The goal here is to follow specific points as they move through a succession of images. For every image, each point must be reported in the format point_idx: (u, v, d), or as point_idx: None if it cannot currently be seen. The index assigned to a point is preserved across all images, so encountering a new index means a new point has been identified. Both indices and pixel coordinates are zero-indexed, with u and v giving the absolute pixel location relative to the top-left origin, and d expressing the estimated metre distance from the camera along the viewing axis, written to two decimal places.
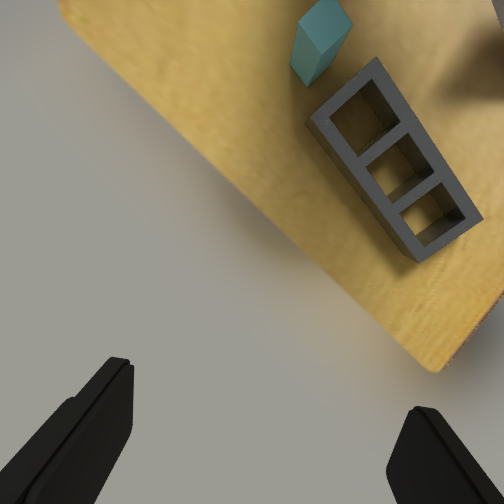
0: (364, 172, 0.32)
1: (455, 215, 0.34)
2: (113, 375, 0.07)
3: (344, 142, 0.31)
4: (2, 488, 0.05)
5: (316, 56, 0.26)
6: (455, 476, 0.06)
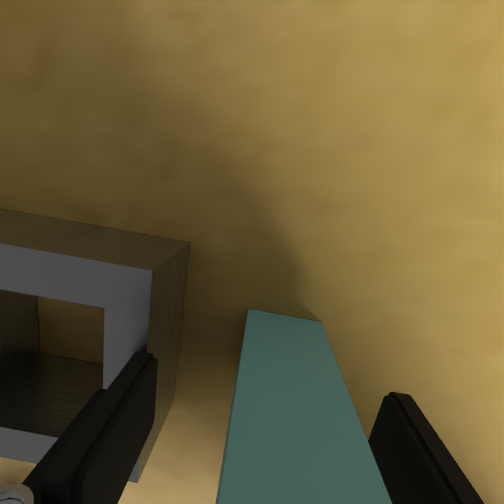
0: None
1: None
2: (141, 368, 0.08)
3: (0, 282, 0.08)
4: (54, 467, 0.05)
5: (245, 499, 0.05)
6: (420, 454, 0.07)
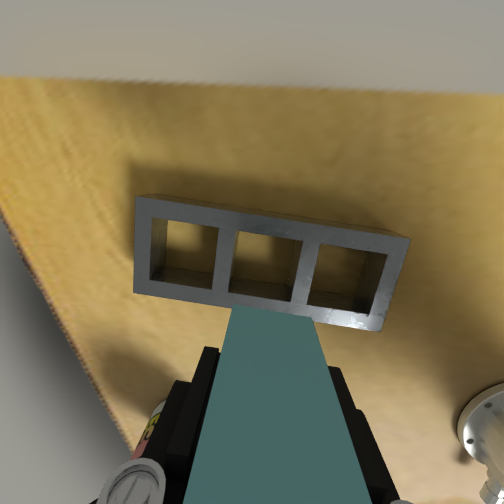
0: (299, 235, 0.22)
1: (158, 273, 0.26)
2: (214, 361, 0.09)
3: (349, 245, 0.22)
4: (174, 444, 0.06)
5: None
6: None
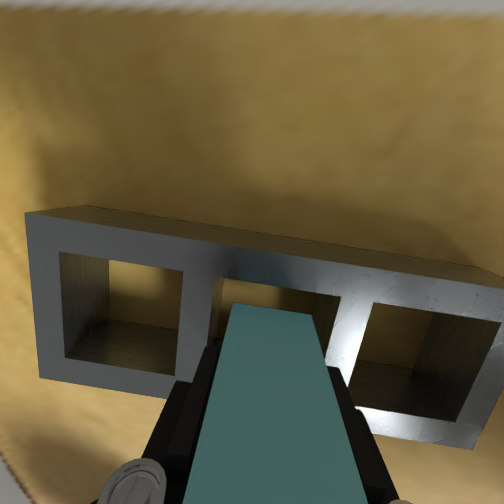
0: (334, 286, 0.12)
1: (90, 339, 0.15)
2: (214, 361, 0.09)
3: (428, 305, 0.12)
4: (174, 444, 0.06)
5: None
6: None
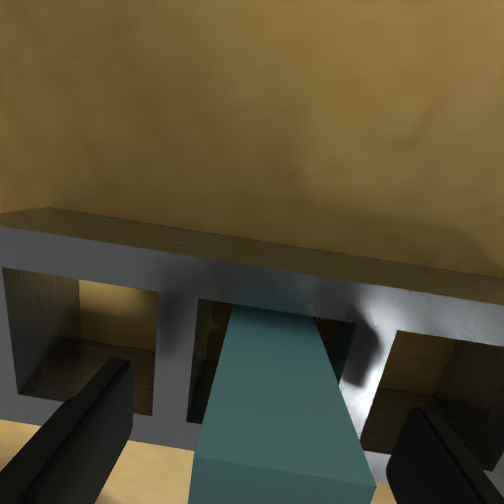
0: (348, 311, 0.09)
1: (53, 367, 0.13)
2: (113, 375, 0.07)
3: (466, 334, 0.09)
4: (2, 488, 0.05)
5: (227, 407, 0.06)
6: (454, 476, 0.06)
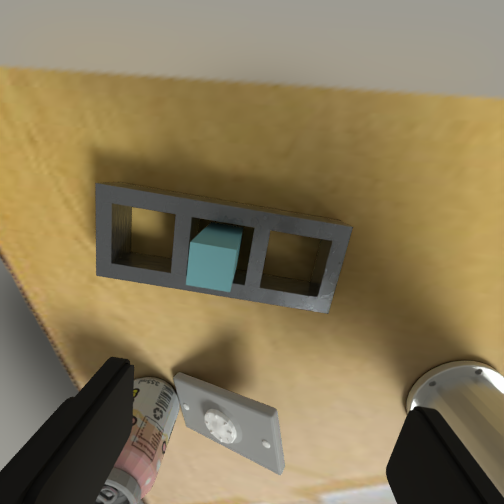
0: (250, 222, 0.24)
1: (122, 258, 0.27)
2: (113, 375, 0.07)
3: (297, 232, 0.24)
4: (2, 488, 0.05)
5: (200, 239, 0.21)
6: (455, 476, 0.06)
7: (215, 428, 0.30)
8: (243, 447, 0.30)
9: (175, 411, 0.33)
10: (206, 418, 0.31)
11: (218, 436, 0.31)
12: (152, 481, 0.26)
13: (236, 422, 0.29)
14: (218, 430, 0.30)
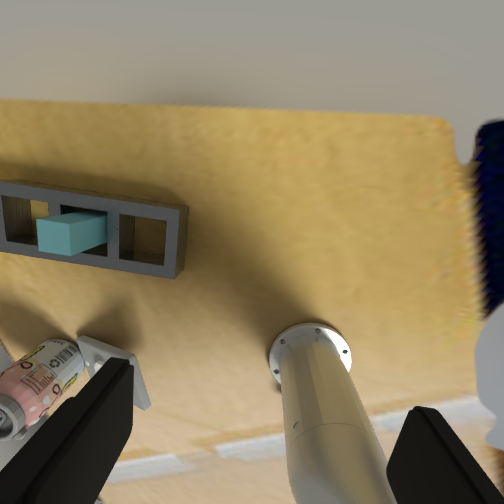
0: (103, 207, 0.32)
1: (20, 238, 0.35)
2: (113, 375, 0.07)
3: (139, 214, 0.32)
4: (2, 488, 0.05)
5: (49, 218, 0.29)
6: (455, 476, 0.06)
7: None
8: None
9: (76, 365, 0.40)
10: (95, 368, 0.38)
11: None
12: (38, 410, 0.34)
13: None
14: None
